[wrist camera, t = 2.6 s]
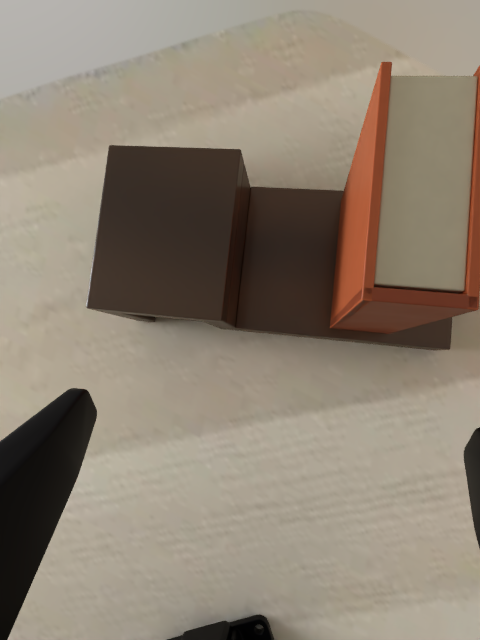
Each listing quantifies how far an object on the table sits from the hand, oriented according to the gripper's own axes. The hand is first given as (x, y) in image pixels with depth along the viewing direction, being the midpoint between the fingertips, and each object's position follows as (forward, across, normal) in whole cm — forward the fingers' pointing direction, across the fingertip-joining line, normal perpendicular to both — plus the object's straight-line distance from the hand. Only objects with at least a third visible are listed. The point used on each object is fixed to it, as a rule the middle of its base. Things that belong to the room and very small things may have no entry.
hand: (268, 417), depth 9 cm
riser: (+14, 0, +5) cm, 15 cm away
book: (+13, -4, +4) cm, 14 cm away
